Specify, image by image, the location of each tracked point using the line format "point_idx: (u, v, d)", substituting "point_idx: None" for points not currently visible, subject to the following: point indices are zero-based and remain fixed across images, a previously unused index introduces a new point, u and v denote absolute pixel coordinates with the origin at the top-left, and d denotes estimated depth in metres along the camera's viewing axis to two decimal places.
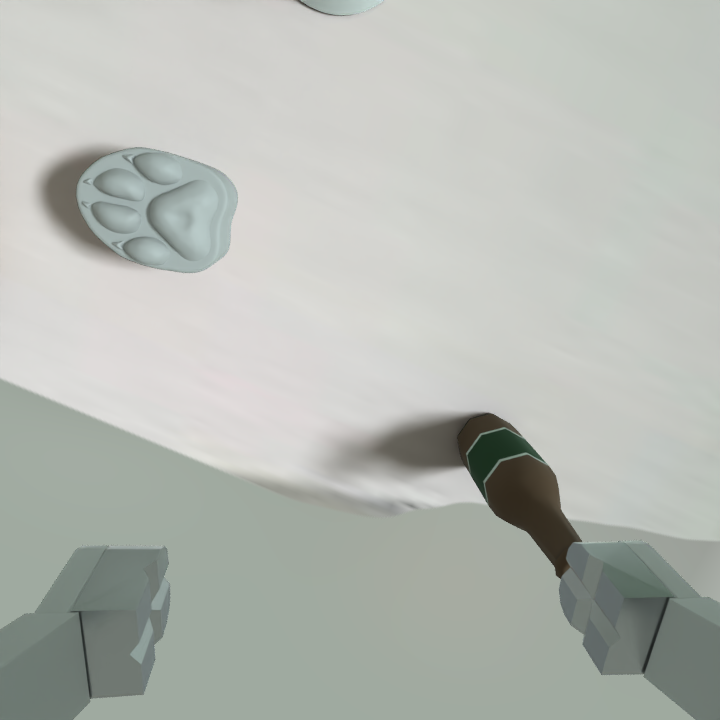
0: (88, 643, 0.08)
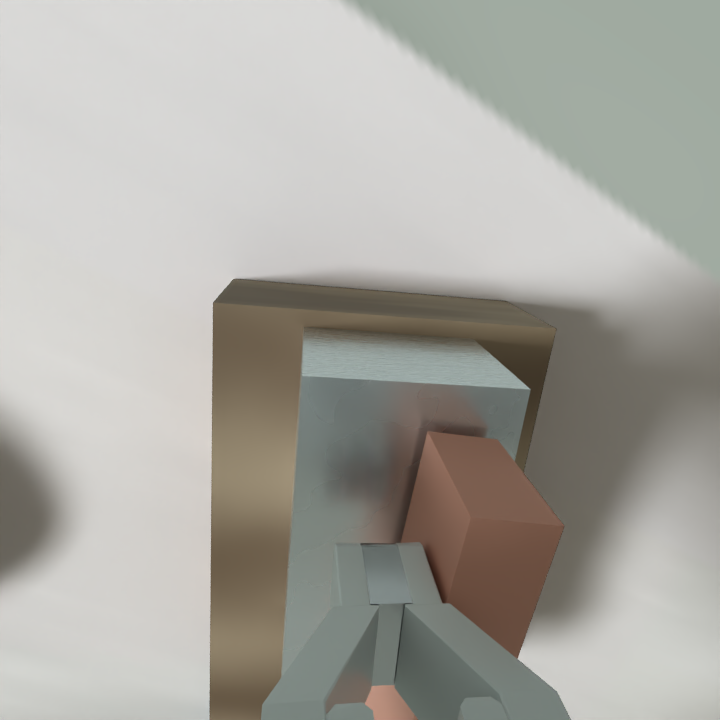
0: (382, 634, 0.08)
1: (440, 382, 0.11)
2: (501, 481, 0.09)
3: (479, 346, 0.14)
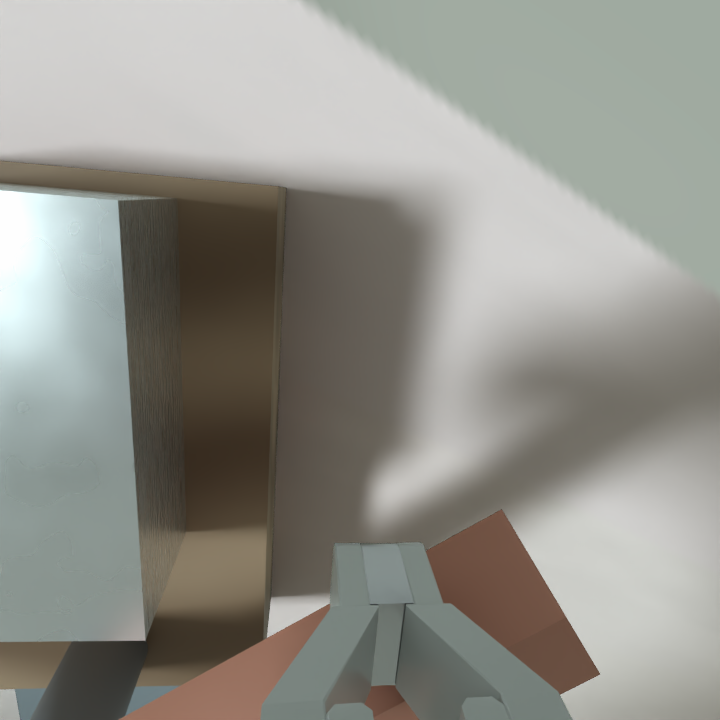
0: (381, 634, 0.08)
1: None
2: None
3: (164, 198, 0.12)
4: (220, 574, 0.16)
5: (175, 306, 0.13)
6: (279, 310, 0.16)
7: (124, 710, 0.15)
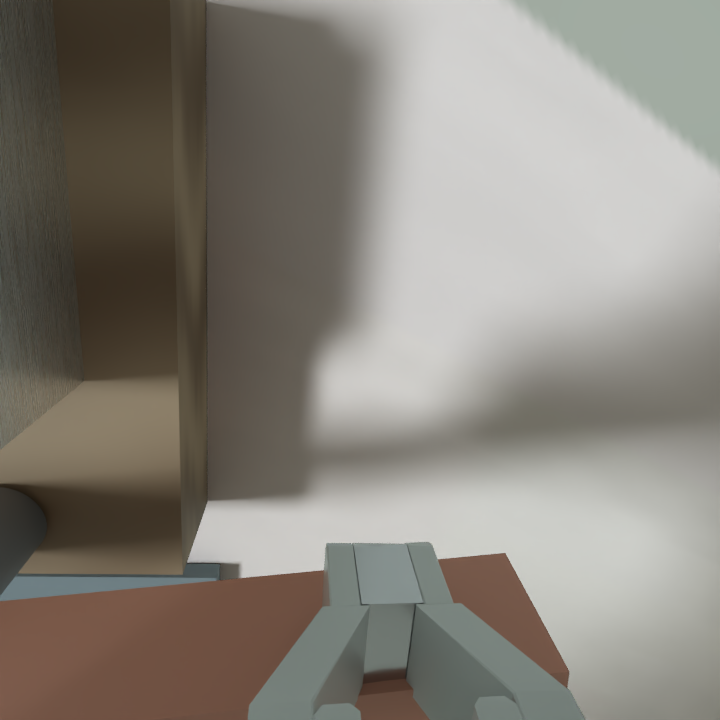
0: (372, 634, 0.08)
1: None
2: None
3: None
4: (127, 436, 0.14)
5: (48, 77, 0.11)
6: (196, 137, 0.14)
7: (0, 594, 0.13)
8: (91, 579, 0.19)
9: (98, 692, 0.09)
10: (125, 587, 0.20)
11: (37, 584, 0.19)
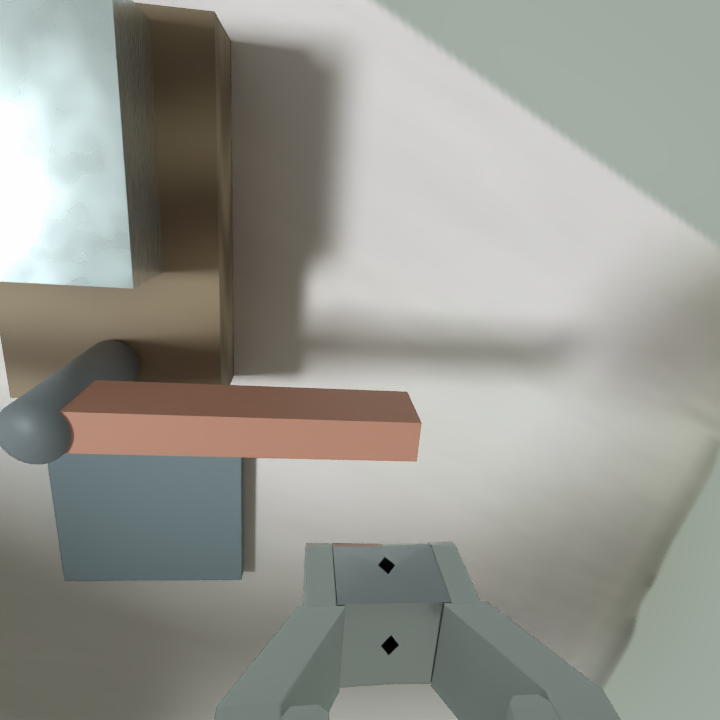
0: (348, 635, 0.08)
1: None
2: None
3: None
4: (188, 308, 0.23)
5: (150, 92, 0.20)
6: (226, 124, 0.23)
7: None
8: None
9: (198, 408, 0.18)
10: None
11: None
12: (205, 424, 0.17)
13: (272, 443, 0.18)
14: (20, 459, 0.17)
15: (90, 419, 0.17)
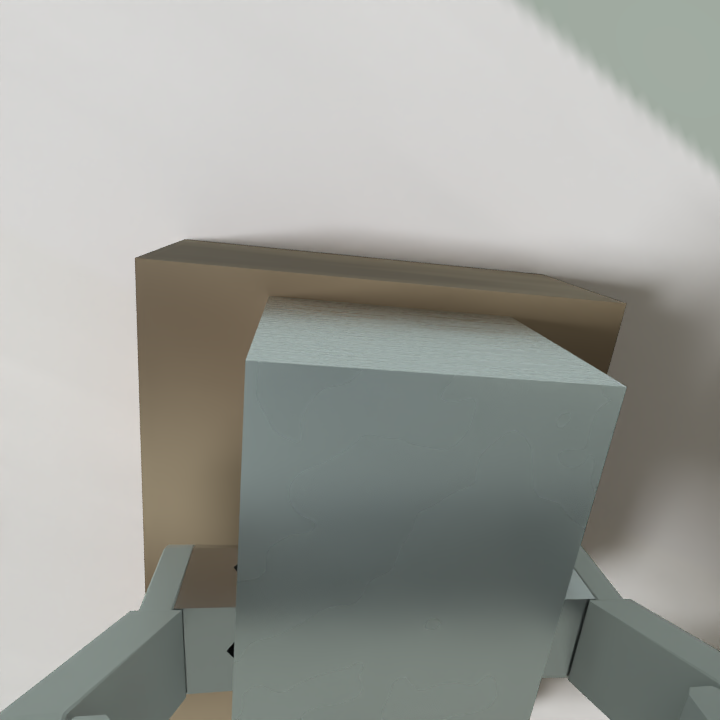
0: (188, 640, 0.08)
1: (478, 373, 0.06)
2: None
3: (522, 325, 0.10)
4: None
5: None
6: None
7: None
8: None
9: None
10: None
11: None
12: None
13: None
14: None
15: None
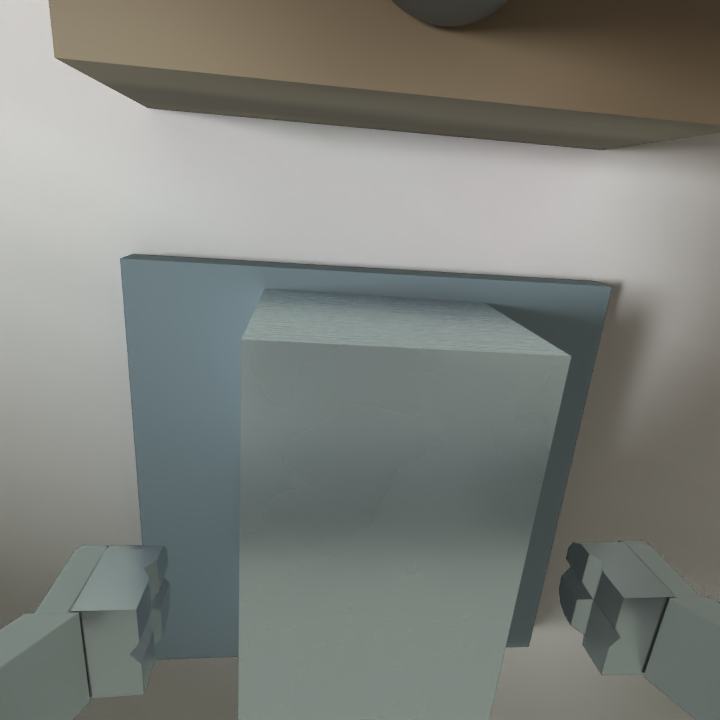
0: (88, 643, 0.08)
1: (442, 347, 0.08)
2: None
3: (492, 309, 0.11)
4: None
5: None
6: None
7: None
8: (411, 281, 0.11)
9: None
10: (464, 299, 0.11)
11: (322, 287, 0.11)
12: None
13: None
14: None
15: None
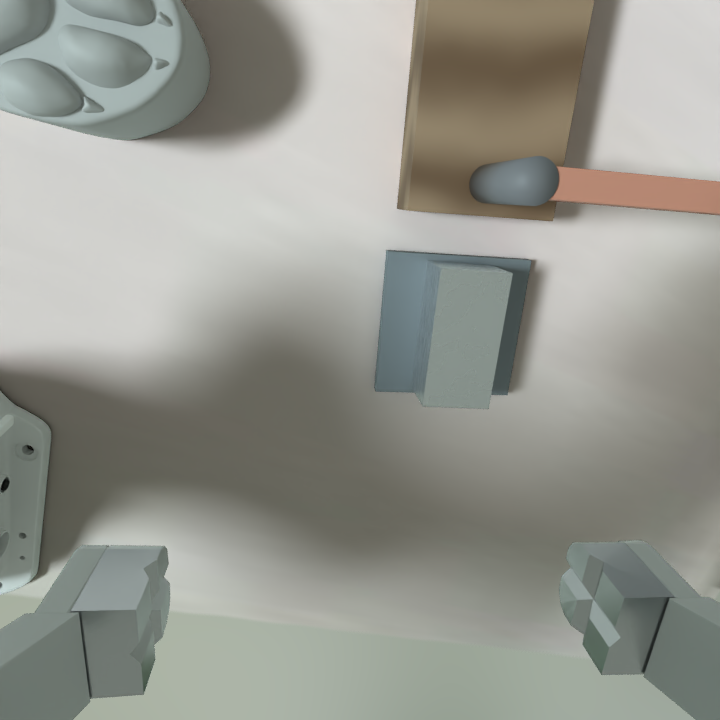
0: (88, 643, 0.08)
1: (483, 270, 0.33)
2: None
3: (494, 266, 0.36)
4: (546, 141, 0.32)
5: None
6: None
7: None
8: (470, 258, 0.37)
9: None
10: (486, 264, 0.37)
11: (444, 260, 0.37)
12: (641, 180, 0.26)
13: (679, 198, 0.26)
14: (523, 201, 0.25)
15: (572, 173, 0.25)
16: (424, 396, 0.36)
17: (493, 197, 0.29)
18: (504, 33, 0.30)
